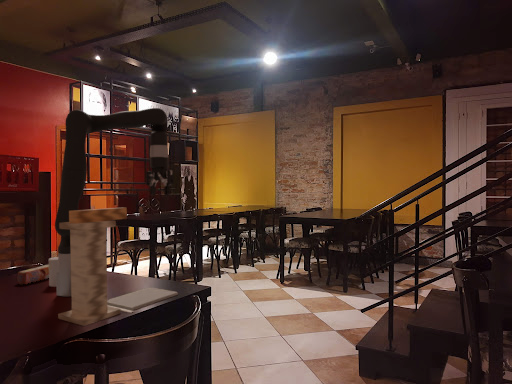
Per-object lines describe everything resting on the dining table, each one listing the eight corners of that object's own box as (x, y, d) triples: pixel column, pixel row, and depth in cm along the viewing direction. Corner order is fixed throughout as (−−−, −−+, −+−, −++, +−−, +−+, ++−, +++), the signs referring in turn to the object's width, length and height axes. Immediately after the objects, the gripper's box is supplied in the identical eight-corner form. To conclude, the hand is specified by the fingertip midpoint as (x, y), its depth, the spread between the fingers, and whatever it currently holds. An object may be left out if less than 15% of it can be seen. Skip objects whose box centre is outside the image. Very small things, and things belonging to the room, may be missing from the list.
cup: (53, 282, 180) (53, 256, 179) (72, 281, 180) (71, 256, 180) (45, 286, 172) (45, 260, 171) (64, 286, 172) (64, 259, 172)
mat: (131, 310, 136) (131, 307, 136) (102, 303, 145) (102, 301, 145) (177, 294, 156) (177, 292, 156) (149, 289, 164) (149, 287, 164)
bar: (119, 218, 144) (119, 207, 144) (126, 218, 142) (126, 207, 142) (69, 222, 127) (69, 210, 127) (76, 223, 125) (76, 211, 125)
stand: (95, 307, 141) (93, 219, 140) (120, 313, 133) (118, 220, 133) (58, 318, 129) (56, 222, 129) (83, 325, 122) (81, 224, 121)
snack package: (25, 285, 175) (25, 270, 175) (16, 284, 178) (15, 269, 178) (65, 275, 195) (65, 262, 195) (56, 274, 197) (55, 261, 197)
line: (130, 313, 133) (130, 312, 133) (94, 304, 144) (94, 303, 144) (134, 312, 135) (134, 311, 135) (97, 303, 145) (97, 302, 145)
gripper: (140, 157, 164) (141, 195, 164) (164, 155, 157) (165, 195, 157) (153, 158, 170) (154, 195, 171) (177, 156, 163) (178, 195, 163)
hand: (160, 195), depth 164 cm, fingers open, 7 cm apart
